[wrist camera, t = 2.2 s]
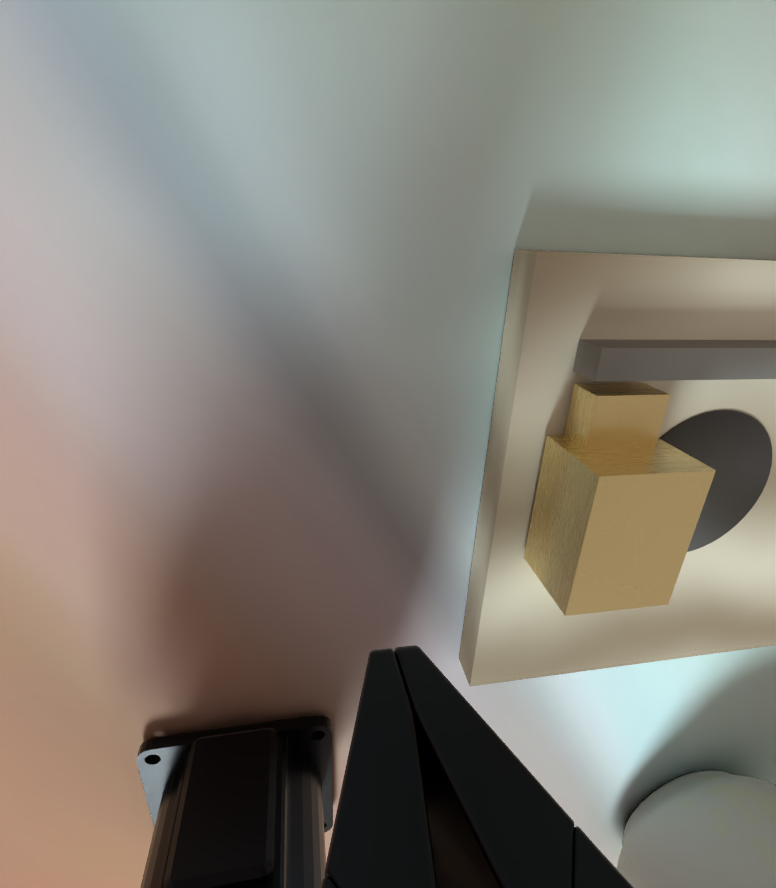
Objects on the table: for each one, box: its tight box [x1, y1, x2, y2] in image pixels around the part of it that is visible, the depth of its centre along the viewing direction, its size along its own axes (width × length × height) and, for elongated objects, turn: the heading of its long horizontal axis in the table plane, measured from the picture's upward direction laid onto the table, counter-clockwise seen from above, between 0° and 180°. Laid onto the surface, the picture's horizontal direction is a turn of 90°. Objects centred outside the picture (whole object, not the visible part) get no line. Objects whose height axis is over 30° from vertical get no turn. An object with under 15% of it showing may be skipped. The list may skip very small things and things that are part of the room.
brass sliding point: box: [524, 383, 716, 616], centre depth 12 cm, size 5×3×2 cm, turn 178°
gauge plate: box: [459, 250, 776, 686], centre depth 15 cm, size 14×19×2 cm
